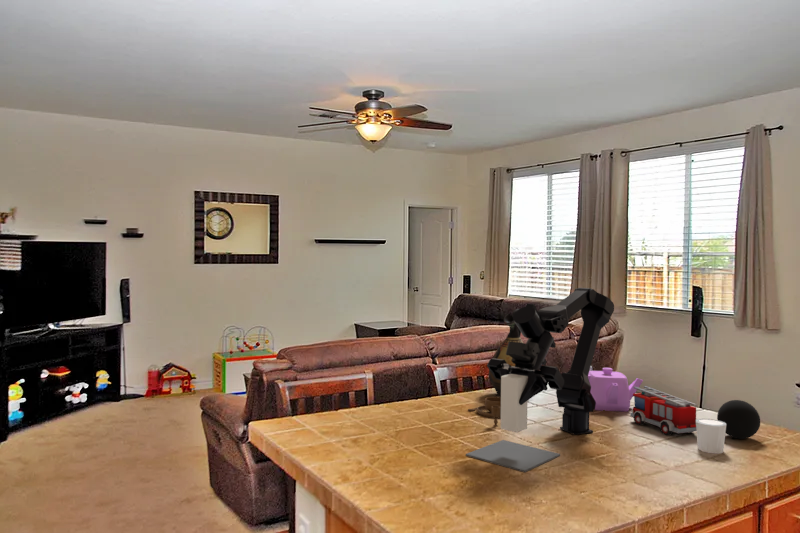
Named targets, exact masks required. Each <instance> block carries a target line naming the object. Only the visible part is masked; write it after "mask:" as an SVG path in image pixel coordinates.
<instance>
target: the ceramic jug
mask: <svg viewBox="0 0 800 533" xmlns="http://www.w3.org/2000/svg"><path fill="white" fill-rule="evenodd" d="M519 309H520V308H515V309H514V310H513V312H512V314H510V313H506V314H505V315H504V316H503V322H504V324H506V325H507V326H508V327H509V332H508V334H507V335H506V338H505V339H504V340H503V341H502V342H501V343H500V345H499V346H498V348H497V350H496V351H495V352H494V354H493V356H492V358H496V359H503V360H505V361H506V363H507V364H509V365H511V366H514V367H515V364H514V363H513V362H512V361H511V360H512V357H510V356H509V355H506V351H507V347H508V343H509V342H518V343H524V342H523V340H522V338H521V335H522V333H521V332H520V330H519V328H518V327H517V325H516V323H515V322H514V320H513V315H514V313H515V312H517V311H518V310H519ZM488 377H489V382H490V383H491V385H492V387H493V388H494V390H495V392H496V394H495V396H496V397H501V380H497V379H496V378H494V376H493V375H492V373H491V372H490V370H489V369H488Z"/></svg>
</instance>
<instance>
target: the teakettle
mask: <svg viewBox="0 0 800 533" xmlns="http://www.w3.org/2000/svg"><path fill="white" fill-rule="evenodd" d="M613 370H614V369H613V368H611V367H602V370H592V371H589V374H588V379H589V382H590V385H591V391H590V393H591V394H592V396H593V398H594V400H595V401H596V405H595V410H594V411H603V410H605V411H607V412H608V411H609V412H629V410H630V407H631V400H632V399H633V398H634V396H633V393H636V392H637V391H638V390H637V389H634V387H638V388H640V386H641V385H642V383H643V382H644V380H643V379H641V378H637V377H636V379H635V380H633V381H632V383H630V384H629V382H628V381H629V380H628V378H627V376H626V375H625V374H624V373H622V372H620V371H613ZM605 411H604V412H605Z"/></svg>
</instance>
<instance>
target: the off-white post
mask: <svg viewBox="0 0 800 533" xmlns="http://www.w3.org/2000/svg"><path fill="white" fill-rule="evenodd" d="M527 382H528V376H523V375H517V374H508V375H504V376H501V418H500V429H501V430H504V431H508V432H513V433H520V432H522V431H525V430H527V429H528V401H526V402H525V403H524V404H522V405H520V404H519V400H520V397H521V394H522V392H523V390H524V388H525V386H526V384H527Z"/></svg>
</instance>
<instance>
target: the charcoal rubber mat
mask: <svg viewBox="0 0 800 533" xmlns="http://www.w3.org/2000/svg"><path fill="white" fill-rule="evenodd" d="M465 456H466V457H469V458H473V459H476V460H479V461H484V462H487V463H491V464H493V465H498V466H501V467H505V468H509V469H512V470H516V471H519V472H523V473H526V472H528V471H531V470H533V469H535V468H537V467H539V466H541V465H544V464H545V463H549V461H552V460H554V459H556V458H558V457H561V453H558V452H554V451H550V450H546V449H541V448H538V447H533V446H529V445H525V444H521V443H516V442H513V441H510V440H505V439H502V440H499V441H497V442H494V443H491V444H488V445H486V446H483V447H481V448H478V449H475V450H473V451H470V452H467V453H465Z"/></svg>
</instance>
